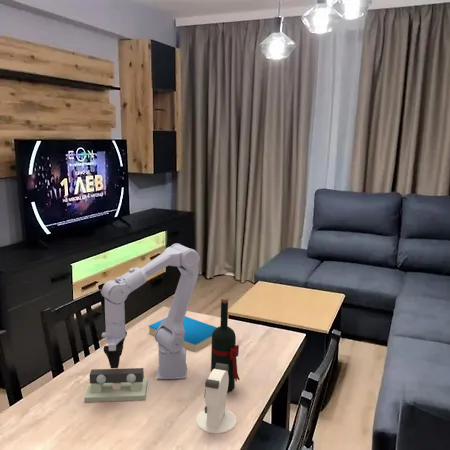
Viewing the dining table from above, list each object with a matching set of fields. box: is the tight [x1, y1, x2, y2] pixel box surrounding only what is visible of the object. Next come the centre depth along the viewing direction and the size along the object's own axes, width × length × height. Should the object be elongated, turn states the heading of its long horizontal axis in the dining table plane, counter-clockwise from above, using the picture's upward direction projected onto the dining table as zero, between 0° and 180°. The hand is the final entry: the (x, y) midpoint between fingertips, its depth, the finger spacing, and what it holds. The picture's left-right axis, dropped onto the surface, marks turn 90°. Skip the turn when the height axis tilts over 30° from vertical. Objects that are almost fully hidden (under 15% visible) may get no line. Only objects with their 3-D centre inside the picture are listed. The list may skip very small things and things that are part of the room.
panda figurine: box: [195, 363, 237, 435], centre depth 126 cm, size 12×11×15 cm
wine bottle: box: [210, 297, 240, 394], centre depth 140 cm, size 8×10×30 cm
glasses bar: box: [89, 367, 145, 384], centre depth 139 cm, size 16×4×3 cm, turn 95°
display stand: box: [83, 377, 148, 403], centre depth 139 cm, size 18×10×4 cm, turn 96°
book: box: [148, 315, 218, 353], centre depth 179 cm, size 17×4×25 cm
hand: (116, 361), depth 138 cm, fingers open, 7 cm apart
